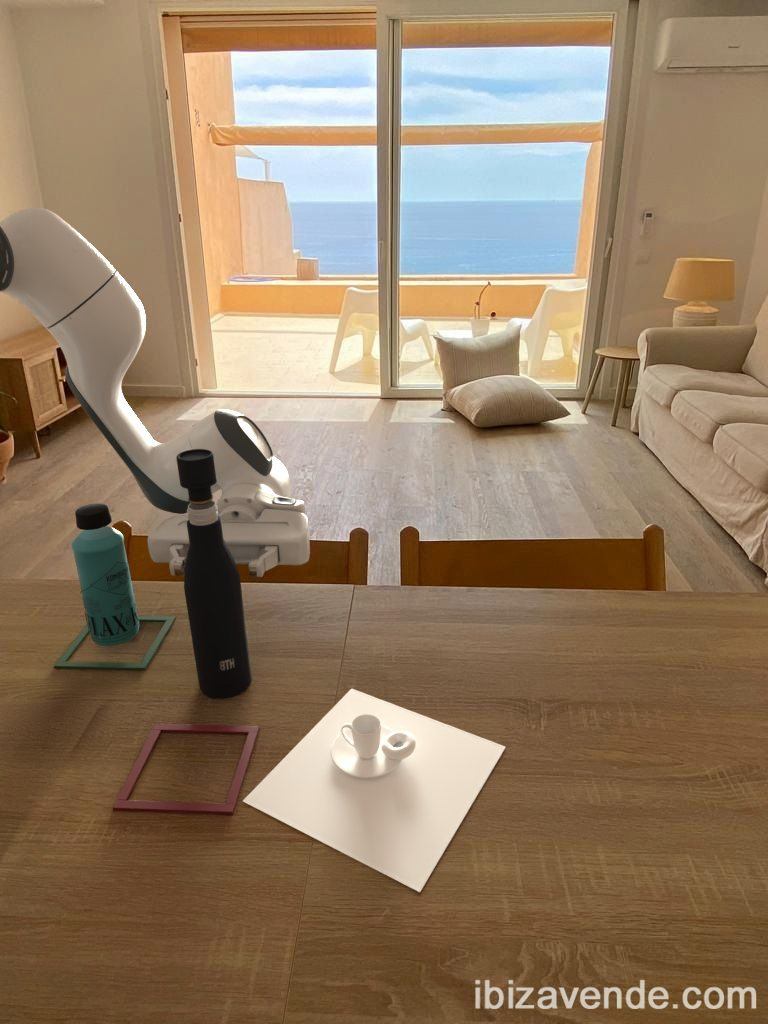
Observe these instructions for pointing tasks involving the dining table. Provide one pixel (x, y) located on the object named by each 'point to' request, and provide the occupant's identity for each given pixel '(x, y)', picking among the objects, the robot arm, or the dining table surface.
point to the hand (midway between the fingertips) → (215, 571)
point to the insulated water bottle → (212, 586)
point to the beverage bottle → (104, 577)
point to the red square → (188, 807)
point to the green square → (116, 666)
